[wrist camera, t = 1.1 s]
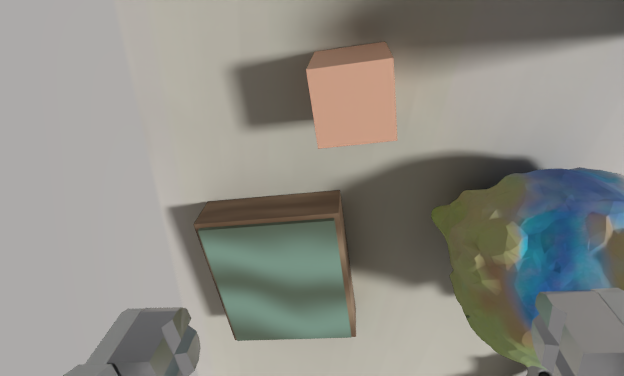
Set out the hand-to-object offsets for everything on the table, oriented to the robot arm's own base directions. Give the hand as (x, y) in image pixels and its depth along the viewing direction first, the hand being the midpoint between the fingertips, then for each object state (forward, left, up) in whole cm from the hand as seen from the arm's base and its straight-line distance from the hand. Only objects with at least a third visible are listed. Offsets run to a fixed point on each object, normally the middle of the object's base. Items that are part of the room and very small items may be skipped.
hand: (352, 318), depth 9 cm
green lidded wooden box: (+16, -8, -22) cm, 28 cm away
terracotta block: (0, 0, -22) cm, 22 cm away
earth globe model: (+14, +12, -22) cm, 29 cm away
